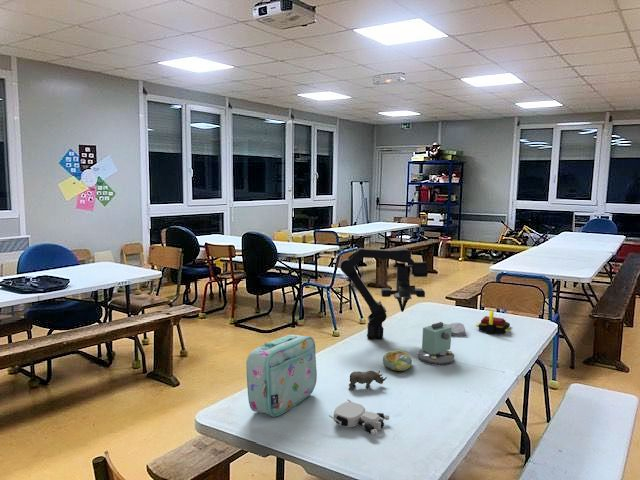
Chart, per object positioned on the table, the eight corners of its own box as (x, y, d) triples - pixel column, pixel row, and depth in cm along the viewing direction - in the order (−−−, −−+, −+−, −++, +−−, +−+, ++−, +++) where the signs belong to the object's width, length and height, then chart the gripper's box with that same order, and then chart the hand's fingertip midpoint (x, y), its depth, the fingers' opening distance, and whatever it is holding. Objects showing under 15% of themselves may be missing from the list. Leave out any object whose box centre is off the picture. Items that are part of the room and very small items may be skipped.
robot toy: (390, 425, 149) (345, 410, 156) (392, 411, 148) (346, 396, 155) (374, 444, 138) (326, 427, 145) (376, 429, 137) (327, 412, 144)
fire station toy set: (473, 332, 236) (474, 309, 235) (483, 322, 253) (484, 300, 252) (506, 337, 229) (507, 313, 227) (514, 326, 246) (515, 304, 244)
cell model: (414, 354, 198) (414, 353, 184) (408, 374, 197) (408, 374, 182) (387, 346, 201) (385, 344, 186) (381, 366, 199) (379, 365, 185)
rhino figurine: (388, 388, 172) (389, 371, 172) (349, 391, 170) (349, 374, 169) (384, 383, 176) (385, 367, 176) (346, 386, 174) (346, 369, 173)
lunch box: (270, 425, 146) (270, 354, 143) (243, 416, 151) (242, 347, 149) (319, 392, 168) (320, 330, 166) (294, 386, 174) (294, 325, 171)
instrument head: (421, 350, 199) (423, 323, 198) (438, 344, 205) (439, 319, 204) (438, 356, 193) (439, 328, 192) (454, 350, 199) (456, 324, 198)
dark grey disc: (410, 357, 202) (410, 350, 201) (433, 350, 210) (433, 343, 210) (438, 368, 191) (439, 361, 190) (461, 360, 199) (461, 353, 199)
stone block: (467, 340, 230) (462, 329, 239) (467, 331, 228) (463, 320, 238) (440, 340, 231) (437, 329, 240) (440, 331, 229) (437, 320, 239)
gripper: (383, 280, 215) (382, 316, 217) (427, 280, 215) (426, 316, 217) (381, 275, 226) (380, 309, 228) (423, 275, 226) (422, 310, 228)
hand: (402, 311), depth 225 cm, fingers closed
